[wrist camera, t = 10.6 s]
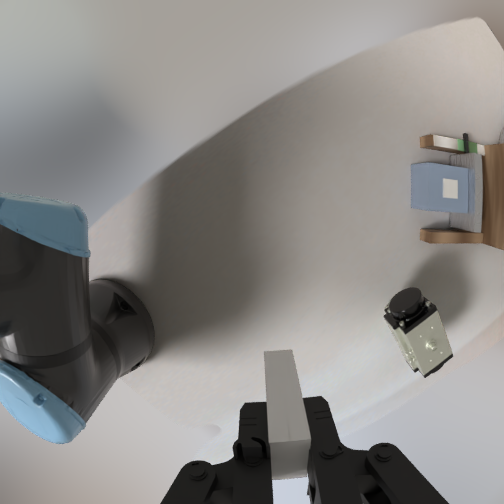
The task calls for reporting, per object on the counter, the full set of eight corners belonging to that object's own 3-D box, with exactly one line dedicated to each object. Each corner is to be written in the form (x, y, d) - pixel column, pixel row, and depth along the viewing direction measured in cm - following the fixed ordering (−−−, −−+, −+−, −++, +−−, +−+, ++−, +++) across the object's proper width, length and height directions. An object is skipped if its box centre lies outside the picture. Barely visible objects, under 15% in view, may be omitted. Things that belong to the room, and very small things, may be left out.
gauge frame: (419, 239, 37) (450, 251, 29) (419, 137, 34) (450, 128, 26) (479, 239, 36) (511, 249, 28) (480, 148, 33) (512, 145, 25)
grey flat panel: (449, 226, 36) (473, 232, 30) (448, 135, 33) (472, 130, 27) (457, 226, 36) (480, 232, 30) (455, 137, 33) (479, 132, 27)
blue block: (410, 207, 36) (429, 210, 31) (410, 164, 35) (429, 162, 30) (448, 210, 36) (469, 213, 31) (448, 169, 34) (469, 168, 29)
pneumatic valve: (394, 270, 38) (437, 300, 26) (421, 328, 39) (459, 367, 28) (362, 292, 39) (396, 330, 27) (393, 348, 40) (425, 393, 29)
